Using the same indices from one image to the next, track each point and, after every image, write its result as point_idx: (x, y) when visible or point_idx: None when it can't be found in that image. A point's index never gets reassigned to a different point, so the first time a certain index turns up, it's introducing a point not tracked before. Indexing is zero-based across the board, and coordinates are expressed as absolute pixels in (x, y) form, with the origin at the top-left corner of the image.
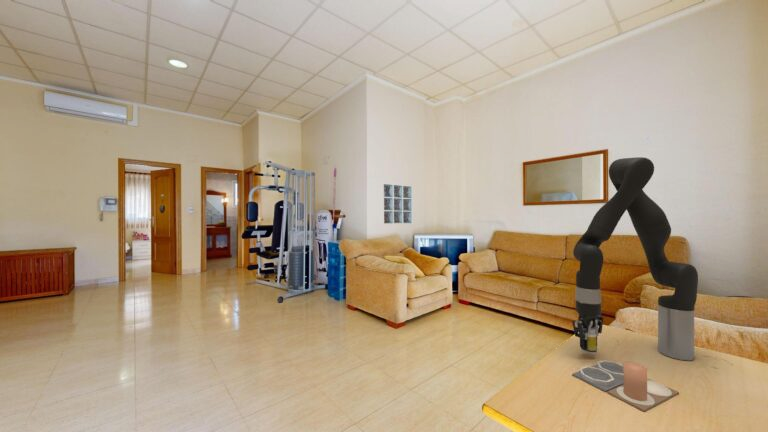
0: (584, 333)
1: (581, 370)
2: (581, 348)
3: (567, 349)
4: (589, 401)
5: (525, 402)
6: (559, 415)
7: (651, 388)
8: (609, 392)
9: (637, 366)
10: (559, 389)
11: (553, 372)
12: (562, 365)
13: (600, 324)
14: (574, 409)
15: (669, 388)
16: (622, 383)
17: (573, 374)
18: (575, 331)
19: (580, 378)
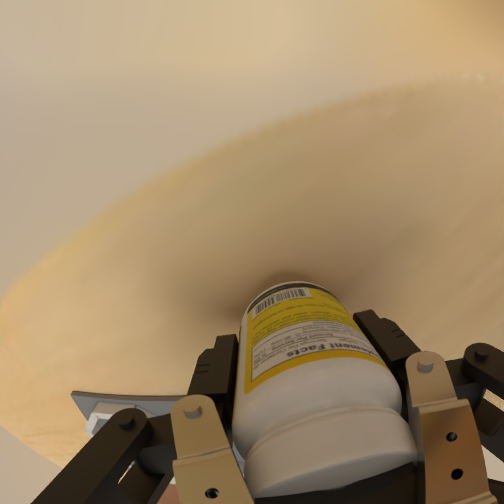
0: (248, 450)
1: (93, 420)
2: (243, 318)
3: (233, 181)
4: (69, 449)
5: None
6: (14, 428)
7: None
8: (127, 469)
9: None
10: (23, 402)
11: (26, 350)
12: (69, 332)
13: (497, 457)
14: (36, 439)
15: None
16: None
17: (72, 397)
18: (87, 463)
19: (85, 416)
